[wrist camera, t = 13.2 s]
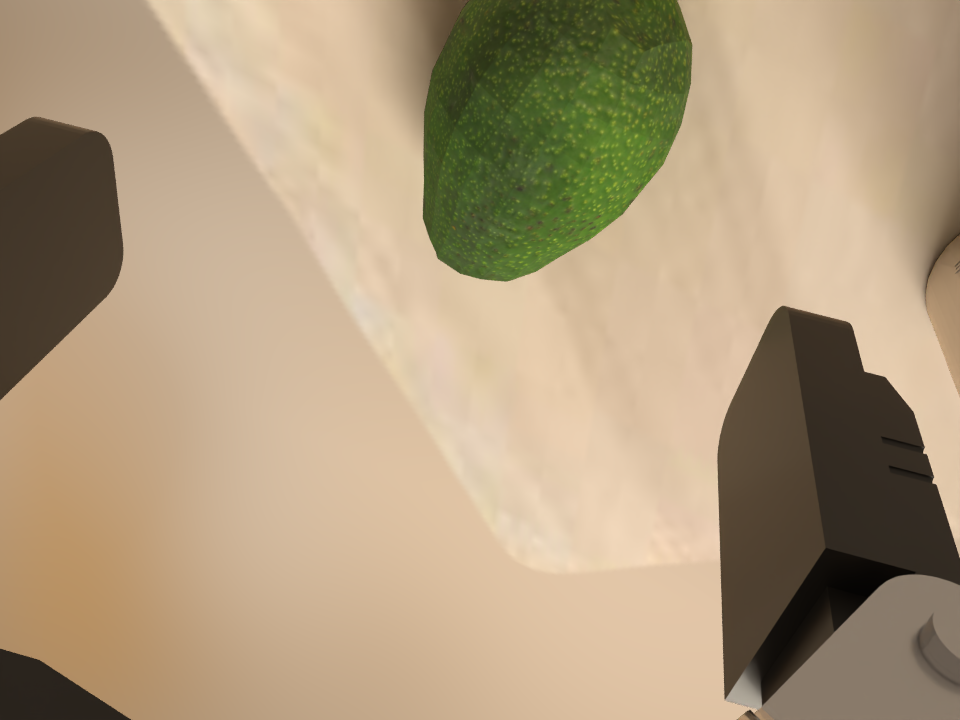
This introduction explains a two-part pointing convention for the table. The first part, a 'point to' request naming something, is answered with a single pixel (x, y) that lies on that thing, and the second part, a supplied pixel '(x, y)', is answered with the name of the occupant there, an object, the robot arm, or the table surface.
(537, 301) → the table surface
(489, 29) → the fruit
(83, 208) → the robot arm
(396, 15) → the table surface
